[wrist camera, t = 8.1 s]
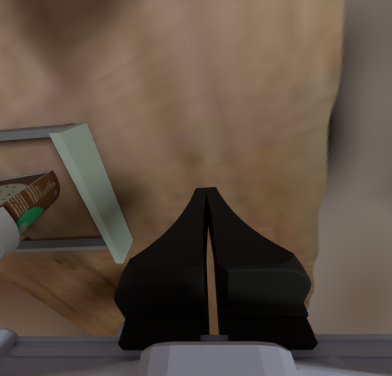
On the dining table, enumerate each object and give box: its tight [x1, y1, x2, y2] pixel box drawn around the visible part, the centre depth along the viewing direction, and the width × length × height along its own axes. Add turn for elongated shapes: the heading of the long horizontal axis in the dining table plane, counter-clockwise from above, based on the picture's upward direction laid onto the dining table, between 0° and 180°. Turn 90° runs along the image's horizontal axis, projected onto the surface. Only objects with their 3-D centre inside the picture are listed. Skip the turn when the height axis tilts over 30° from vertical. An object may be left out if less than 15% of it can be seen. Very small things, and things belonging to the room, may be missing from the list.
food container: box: [0, 170, 60, 260], centre depth 20 cm, size 12×6×10 cm, turn 100°
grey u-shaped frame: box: [0, 123, 133, 263], centre depth 22 cm, size 18×19×5 cm
